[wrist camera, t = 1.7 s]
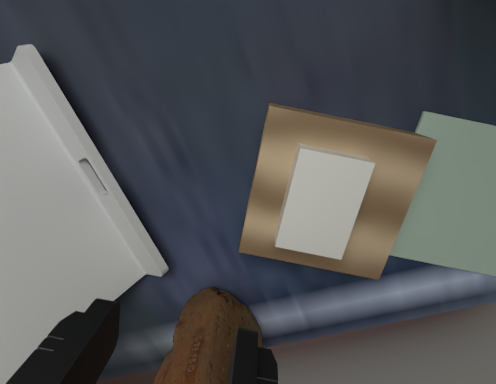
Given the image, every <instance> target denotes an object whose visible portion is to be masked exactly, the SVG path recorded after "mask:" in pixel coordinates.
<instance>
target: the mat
mask: <svg viewBox="0 0 496 384" xmlns="http://www.w3.org/2000/svg"><path fill="white" fill-rule="evenodd" d="M415 133H418V134H421V135H424V136H426V137H429V138H432V139H435V140H437V142H436V145H435V147H434V149H433V152H432V154H431V156H430V159H429V161H428V164H427V166H426V168H425V171H424V173H423V176H422V178H421V180H420V183H419V185H418V188H417V190H416V192H415V195H414V197H413V199H412V202H411V204H410V207H409V209H408V211H407V214H406V216H405V219H404V221H403V223H402V226H401V228H400V230H399V233H398V235H397V238H396V240H395V242H394V245H393V247H392V250H391V252H390V254H389V255H391V256H396V257H401V258H406V259H411V260H416V261H421V262H426V263H431V264H436V265H441V266H446V267H451V268H456V269H461V270H466V271H471V272H476V273H481V274H486V275H491V276H496V126H494V125H489V124H484V123H479V122H474V121H469V120H465V119H460V118H455V117H450V116H445V115H440V114H435V113H431V112H426V111H423V112H422V115H421V117H420V120H419V122H418V125H417V128H416V130H415Z"/></svg>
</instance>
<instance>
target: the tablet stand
mask: <svg viewBox="0 0 496 384" xmlns="http://www.w3.org/2000/svg"><path fill="white" fill-rule="evenodd" d="M87 160H88V161H89V163H90V164H91V166H92V168H93V169H94V171H95V172H96V174H97V176H98V177H99V179H100V180H101V182H102V184H103V185H104V187H105V188H106V190H107V191H106V190H105V188H104V187H103V185H102V184H101V182H100V180H99V179H98V177H97V176H96V174H95V172H94V171H93V169H92V168H91V166H90V164H89V163H88V161H87ZM168 270H169V268H168V266H167V264H166V263H165V261H164V259H163V258H162V256H161V254H160V253H159V251H158V249H157V248H156V246H155V244H154V243H153V241H152V240H151V238H150V236H149V235H148V233H147V231H146V230H145V228H144V226H143V225H142V223H141V221H140V220H139V218H138V216H137V215H136V213H135V211H134V210H133V208H132V207H131V205H130V203H129V202H128V200H127V198H126V197H125V195H124V193H123V192H122V190H121V188H120V187H119V185H118V183H117V182H116V180H115V178H114V177H113V175H112V173H111V172H110V170H109V169H108V167H107V165H106V164H105V162H104V160H103V159H102V157H101V155H100V154H99V152H98V150H97V149H96V147H95V145H94V144H93V142H92V140H91V139H90V137H89V135H88V134H87V132H86V131H85V129H84V127H83V126H82V124H81V122H80V121H79V119H78V117H77V116H76V114H75V112H74V111H73V109H72V107H71V106H70V104H69V102H68V101H67V99H66V98H65V96H64V94H63V93H62V91H61V89H60V88H59V86H58V84H57V83H56V81H55V79H54V78H53V76H52V74H51V73H50V71H49V69H48V68H47V66H46V64H45V63H44V61H43V60H42V58H41V56H40V55H39V53H38V51H37V50H36V48H35V47H34V46H33V45H31V44H28V45H22V46H18V47H17V49H16V51H15V54H14V56H13V59H12V61H11V62H9V63H5V64H0V384H6V382H7V381H8V380H9V379H10V378H11V377H12V376H13V374H14V373H15V372H16V371H17V370H18V369H19V367H20V366H21V365H22V364H23V363H24V362H25V361H26V359H27V358H28V357H29V356H30V355H31V354H32V353H33V351H34V350H35V349H37V348H38V346H39V344H40V343H41V342H42V341H43V340H44V339H45V338H47V336H48V334H49V333H50V332H51V331H52V329H53V328H54V327H55V326H56V325H57V324H58V323H59V321H61V320H62V319H64V318H65V317H67V316H69V315H70V314H72V313H73V312H75V311H79V312H85V311H86V310H87V308H88V307H89V306H90V305H91V303H92V302H93V301H94V300H95V299H97V298H99V299H105V300H110V301H114V300H115V299H117V298H118V297H119V296H120V295H121V294H123V293H124V292H125V291H126V290H127V289H128V288H130V287H131V286H132V285H133V284H134V283H136V282H137V281H138V280H139V279H140V278H142V277H143V276H144V275H146V274H149V275H154V276H159V277H162V276H163V275H164V274H165V273H166V272H167V271H168Z"/></svg>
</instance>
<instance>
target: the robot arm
mask: <svg viewBox="0 0 496 384" xmlns="http://www.w3.org/2000/svg"><path fill="white" fill-rule="evenodd" d="M119 314H120V304H119V302H115V301H110V300H105V299H99V298H97V299H95V300H94V301H93V302H92V303H91V305H90V306H89V307H88V308H87V310H86V311H85V312H79V311H75V312H73V313H72V314H70V315H69V316H67V317H65V318H64V319H62V320H61V321H59V323H58V324H57V325H56V326H55V327H54V328H53V329H52V331H51V332H50V333H49V334H48V336H47V338H45V339H44V340H43V341H42V342H41V343H40V344H39V346H38V348H37V349H35V350H34V351H33V353H32V354H31V355H30V356H29V357H28V358H27V359H26V361H25V362H24V363H23V364H22V365H21V366H20V367H19V369H18V370H17V371H16V372H15V373H14V374H13V376H12V377H11V378H10V379H9V380H8V381H7V382H6V384H95V383H96V381H97V380H98V378H99V376H100V374H101V373H102V371H103V369H104V367H105V366H106V364H107V362H108V360H109V359H110V357H111V355H112V353H113V351H114V349H115V346H116V343H117V340H118V334H119ZM226 384H278V371H277V362H276V360H275V358H274V356H273V353H272V351H271V349H266V348H261V347H258V330H255V329H250V328H245V327H240V326H238V327H237V331H236V336H235V340H234V344H233V349H232V353H231V357H230V362H229V368H228V374H227V381H226Z"/></svg>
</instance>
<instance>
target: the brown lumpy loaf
mask: <svg viewBox="0 0 496 384" xmlns="http://www.w3.org/2000/svg"><path fill="white" fill-rule="evenodd" d="M238 326H240V327H245V328H250V329H255V330H258V347H261V348H263V345H262V334H261V330H260V327H259V325H258V323H257V321H256V319H255V318H254V316H253V314H252V313H251V311H250V310H249V309H248V308H247V307H246V306H245V305H244V304H241V303H240V302H239V301H238V300H237V299H236V298H235V297H234V296H233V295H232V294H231V293H230V292H227V291H224V290H218V289H217V288H215V287H209V288H206V289H203V290H201V291H199V292H198V293H197V294H195V295H194V296H193V297H191V298H190V299H189V300H188V302H187V303H186V305H185V307H184V309H183V311H182V313H181V316H180V318H179V322H178V324H177V325H176V328H175V332H174V335H173V343H174V345H173V348H172V350H171V352H170V351H169V352H168V354H167V356H166V357H165V359H164V361H163V363H162V364H161V367H160V370H159V372H158V374H157V376H156V378H155V380H154V383H153V384H226V381H227V374H228V368H229V362H230V357H231V353H232V349H233V344H234V340H235V336H236V331H237V327H238Z"/></svg>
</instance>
